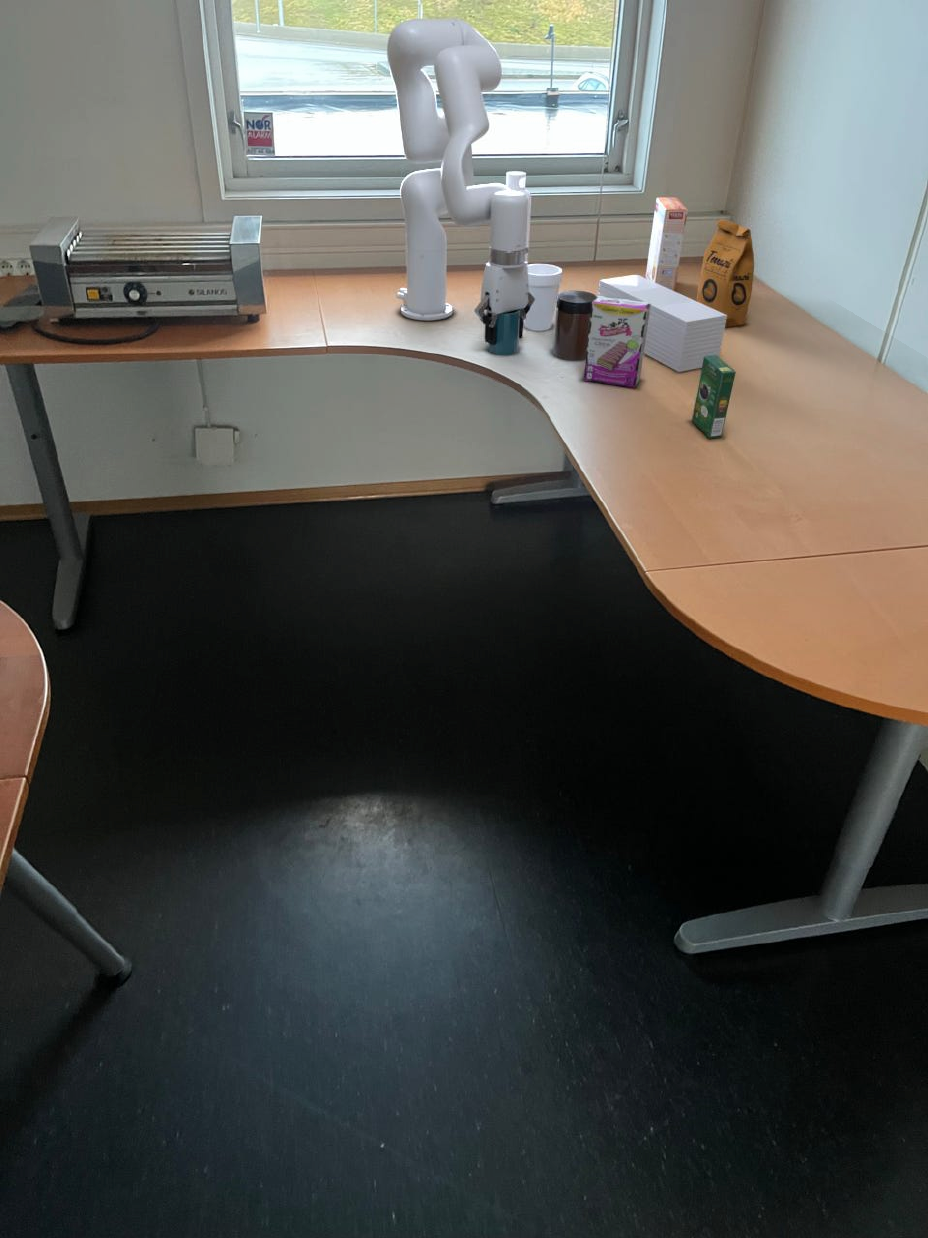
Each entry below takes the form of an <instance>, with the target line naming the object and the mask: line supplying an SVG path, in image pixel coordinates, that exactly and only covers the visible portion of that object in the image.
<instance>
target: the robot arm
mask: <svg viewBox="0 0 928 1238" xmlns="http://www.w3.org/2000/svg"><path fill="white" fill-rule="evenodd" d="M386 57H387V65H388V69H389V73H390V76H391V79H392V83H393V86H394V90H395V95H396V104H397V114H398V123H399V132H400V141H401V147H402V152H403V155H404V157H405V159H406V160H407V161H408V162H409V163H412V164H416V165H417V164H418V165H420V164H431V163H439V162H441V166H440V168H431V169H424V170H418V171H417V170H416V171H414V172H411V173H410V174H408V175H407V176H405V177H404V179H402V182H401V185H400V189H399V196H400V202H401V207H402V210H403V211H402V212H403V219H404V228H405V230H404V231H405V264H406V265H405V266H406V268H405V269H406V270H405V271H406V272H405V273H406V288H405V287H400V288H399V290H398V292H397V293H396V298H397V299H400V300H403V304H402V305H401V307H400V313H401V315H402V316H404V317H406V318H408V319H409V320H415V321H439V320H444V319H447V318H449V317H451V316H452V315H453V312H454V311H453V306H452V305H451V304H449V303H447V266H448V265H447V263H448V262H447V255H448V253H447V251H448V250H447V247H448V245H447V234H446V231H445V229H444V227H443V225H442V224H441V221H440V220H439V216H443V215H448V216H449V217H450V219H451V220H452V222H453V223H454V224H455V225H457V226H459V227H463V228H469V227H475V226H480V225H488V224H490V229H489V230H490V231H489V257H488V258H489V260H488V262H487V263H485V267H484V271H483V275H482V281H481V290H480V302H479V303H478V304H477V306H476V307H475V308H474V314H476V316H477V317H478V319H479V320H480V321H481V322H482V324H483V325H484V342H485V343H487V344H488V343H489V344H491V345H496V335H497V328H496V327H495V323H496V320H497V318H498V314H501V313H507V312H511V311H515V310H518V309H520V328H519V340H520V339H522V338H523V335H524V334H523V332H524V320H525V319H526V314H527V313H528V312H529V310H530V307H531V306H532V304H533V303H534V301H535V298H534V297H533V296H532V295H531V294H530V293H529V292H528V289H529V286H528V269H527V262H526V261H525V254H527V253H528V254H529V250H528V248H527V247H526V233H527V215H528V199H527V196H526V195H525V194H524V193H521V192H518V191H512V190H511V189H509V188H508V187H507V186H506V184H503V183H499V182H493V183H487V184H477V185H475V175H474V164H473V163H474V162H473V161H474V160H473V149H472V145H473V143H475V142H477V141H478V140H480V139H481V138H484V136H485V135H486V134H487V133H488V131H489V129H490V121H489V118H488V113H487V109H486V105H485V101H484V95H483V93H488V92H492V91H494V90H495V89H497V88H498V87H499V85H500V83H501V80H502V76H503V75H502V74H503V69H502V63H501V59H500V57H499V55H498V52H497V51H496V49H495V48H494V46H493V45H492V44H491V43H490V41H488V40H487V38H485V37H484V36H483V35H482V34H481V33H480V32H479V31H477V29H476V28H474V27H473V26H472V25H471V24H470V23H469V22H467V21H466V20H463V19H461V18H455V17H446V18H445V17H444V18H413V19H407V20H404V21H401V22H399V23H398V24H396V25H395V26H394V27H393V29H392V30H391V32H390V33H389V36H388V39H387V45H386ZM427 67H433V72H434V78H435V83H436V86H437V90H438V94H439V99H440V103H441V107H442V111H443V112H439V111H438V105H437V95H436V90H435V87H434V85H433V82H432V81H431V79H430V77H429V76H428V74H427V73H426V72H425V70H424V68H427ZM491 314H493V315H492V317H491ZM490 317H491V320H490Z"/></svg>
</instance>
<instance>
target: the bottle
mask: <svg viewBox="0 0 928 1238" xmlns="http://www.w3.org/2000/svg"><path fill="white" fill-rule="evenodd" d="M505 179H506V180H505V186H507V187H508V188H509V189H511V190H512V191H518V192H521V193H524V194H525V195H526V196H527V199H528V215H527V233H526V247H527V248H528V251H529V249H530V233H531V232H530V231H531V216H532V215H531V213H532V194H531V192H530V191H529V190H528V189H526V181H527V180H526V179H527V173H526V172H524V171H518V170H517V171H516V170H515V171H514V170H513V171H512V170H511V171H507V172H506V175H505ZM525 261H526V262H527V265H529V252H528V253H527V254H525Z"/></svg>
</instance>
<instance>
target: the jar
mask: <svg viewBox="0 0 928 1238" xmlns="http://www.w3.org/2000/svg"><path fill="white" fill-rule="evenodd" d="M590 317H591V312H590V313H584V314H574V313H567V312H563V311H561V310H559V309H557V307H556V306H555V321H554V332H553V344H552V345H553V346H552V347H553V348H552V354H553V356H554V357H556V358H558V359H561V360H564V361H571V362H572V361H574V362H575V361H576V362H577V361H583V360H586V353H587V344H588V335H589V326H590Z"/></svg>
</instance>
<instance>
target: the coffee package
mask: <svg viewBox="0 0 928 1238" xmlns="http://www.w3.org/2000/svg"><path fill="white" fill-rule="evenodd" d="M716 226H717V230H716V232H715V234H714V235H713V237H712V239H711V241H710V243H709V244H708V246H707V248H706V250H705V252H704V254H703V257H702V258H703V259H702V266H701V272H700V275H699V283H698V288H697V296H696V301H697V302H699V303H701V304H703V305H706V306H708V307H710V308H712V309H714V310H717V311H719V312H721V313H723V314H725V315H727V319H725V320H726V324H724V325H725V328H726V327H728V328H731V327H741V326H744V325H745V324H746V319H747V315H748V311H749V310H748V309H749V305H750V301H751V297H752V293H753V282H754V272H755V254H754V248H753V238H752V231H751V229H750V228H747V227H745V226H742V225H741V224H738V223H735V222H732V221H729V220H726V219H724V218H721V219H719V220H718V221H717V223H716Z"/></svg>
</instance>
